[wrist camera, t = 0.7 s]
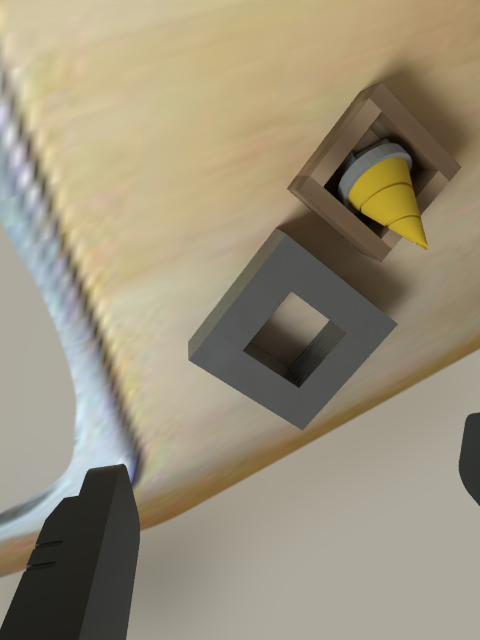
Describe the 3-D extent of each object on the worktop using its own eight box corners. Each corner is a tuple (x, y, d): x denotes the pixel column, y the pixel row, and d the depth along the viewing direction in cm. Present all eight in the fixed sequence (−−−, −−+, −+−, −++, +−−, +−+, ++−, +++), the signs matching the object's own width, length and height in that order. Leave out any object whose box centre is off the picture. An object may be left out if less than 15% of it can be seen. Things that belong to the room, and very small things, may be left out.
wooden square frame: (359, 92, 29) (381, 81, 25) (432, 168, 31) (461, 167, 28) (286, 188, 30) (298, 190, 27) (361, 253, 33) (381, 261, 30)
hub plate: (275, 227, 31) (286, 233, 28) (377, 310, 35) (397, 324, 32) (188, 342, 34) (188, 360, 30) (292, 408, 37) (302, 430, 34)
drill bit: (395, 132, 30) (478, 226, 26) (345, 185, 33) (411, 277, 29) (358, 106, 26) (447, 211, 22) (306, 169, 30) (375, 271, 26)
